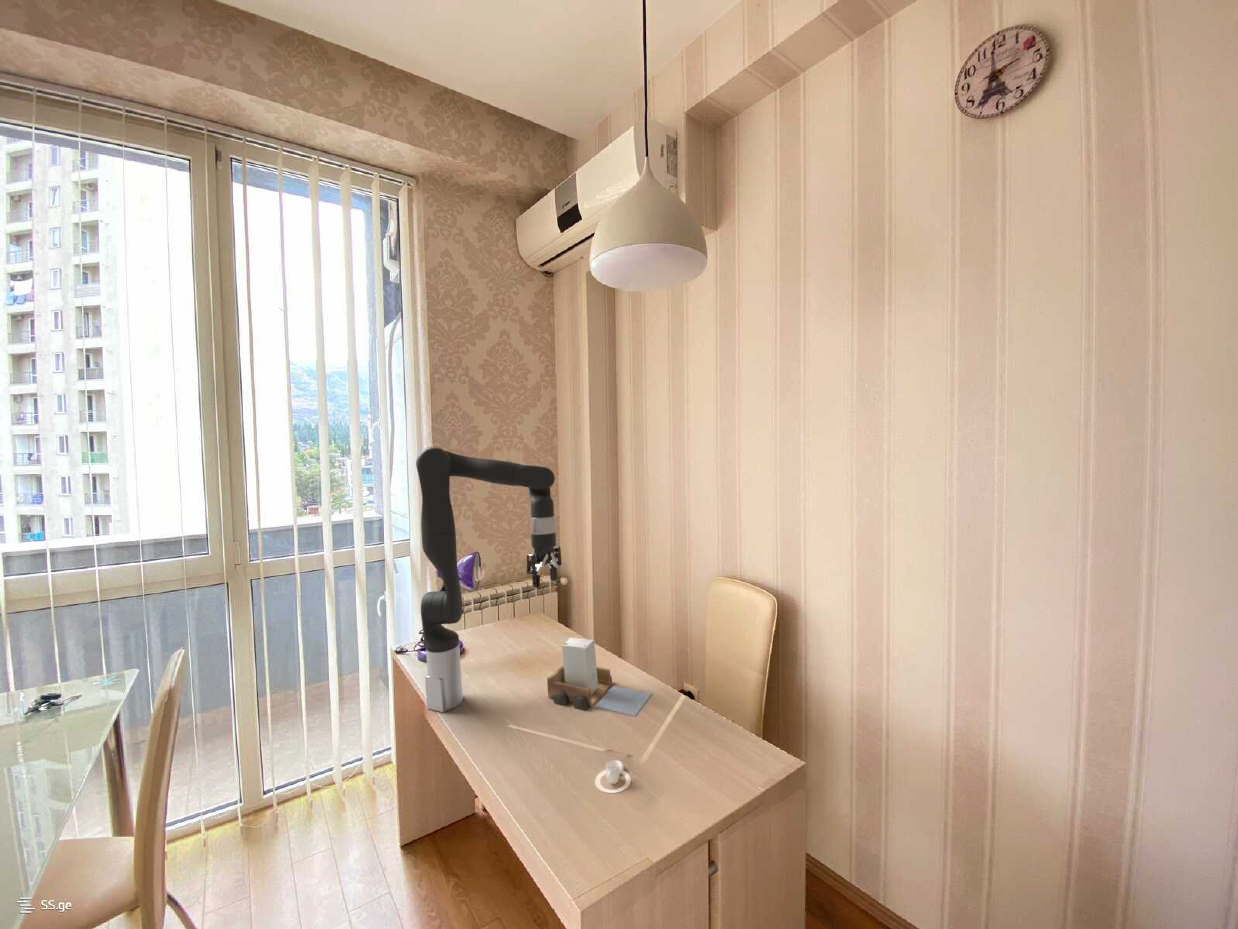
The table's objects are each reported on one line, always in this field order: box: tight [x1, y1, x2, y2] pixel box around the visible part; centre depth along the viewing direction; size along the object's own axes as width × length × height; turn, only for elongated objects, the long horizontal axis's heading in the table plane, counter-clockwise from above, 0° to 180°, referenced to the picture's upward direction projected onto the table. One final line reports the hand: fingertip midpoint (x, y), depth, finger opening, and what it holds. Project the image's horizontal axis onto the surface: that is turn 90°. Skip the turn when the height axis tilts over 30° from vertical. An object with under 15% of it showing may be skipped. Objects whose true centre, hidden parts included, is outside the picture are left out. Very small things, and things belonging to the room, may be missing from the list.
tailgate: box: [595, 684, 652, 718], centre depth 144 cm, size 12×1×12 cm
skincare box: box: [561, 637, 598, 695], centre depth 149 cm, size 8×6×15 cm
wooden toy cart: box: [546, 664, 613, 711], centre depth 150 cm, size 16×14×7 cm
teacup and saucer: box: [594, 759, 632, 794], centre depth 113 cm, size 9×8×4 cm
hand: (545, 583), depth 156 cm, fingers open, 8 cm apart
